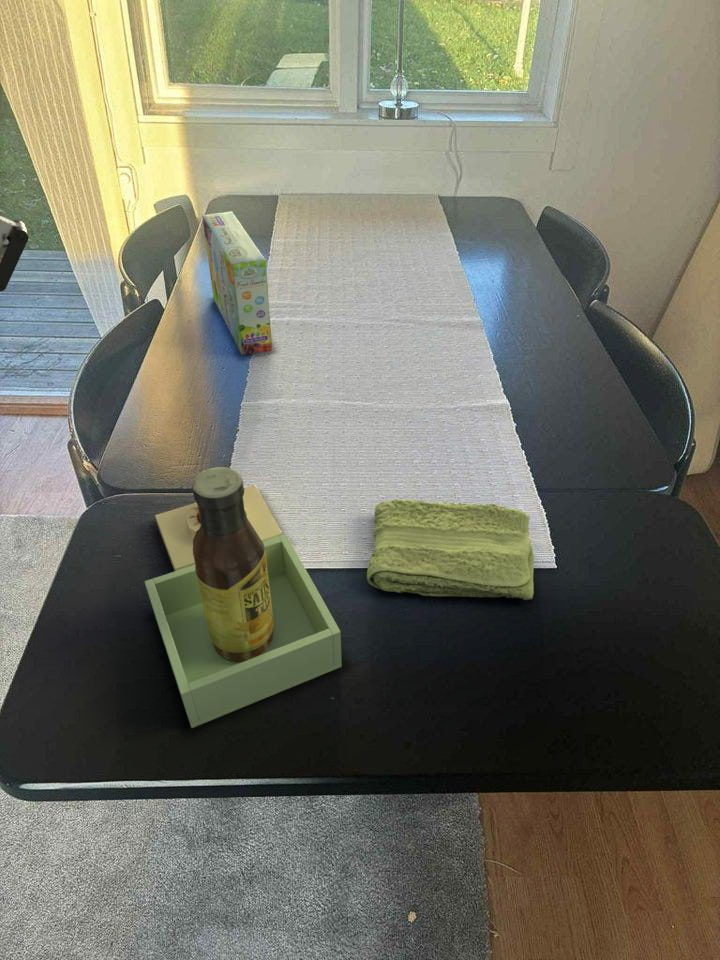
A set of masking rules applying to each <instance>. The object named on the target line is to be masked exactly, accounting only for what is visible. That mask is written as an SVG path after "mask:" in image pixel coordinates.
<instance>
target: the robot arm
mask: <svg viewBox="0 0 720 960" xmlns="http://www.w3.org/2000/svg"><path fill="white" fill-rule="evenodd" d="M28 241H29V232H28V230H27V227H26V225H25V223H24V222H23V221H22V220H19V219H15V220H11V219H10V218H9V219H8V218H7V217H4V216H2V215H0V292H4V291H6V289H7V287H8V284H9V283H10V280H11V278H12V276H13V275H14V274H13V273H14V271H15V269H16V267H17V265H18V263H19V261H20V259H21V256H22V255H23V252H24V250H25V248H26V245H27V243H28Z"/></svg>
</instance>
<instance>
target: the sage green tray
mask: <svg viewBox="0 0 720 960" xmlns="http://www.w3.org/2000/svg"><path fill="white" fill-rule="evenodd" d="M263 543H264V546H265V553H266V562H267V570H268V578H269V586H270V595H271V604H272V612H273V620H274V627H273V636H272V637H273V638H272V640H271V642H270V645H269V646H268V647H267V649H266V650H265V651H264V652H263V653H262V654H261V655H259V656H257V657H255V658H252V659H249V660H247V661H243V662H236V661H230V660H228V659H224V658H223V657H222V656H220V655H219V654H218V653H217V652H216V650H215V648H214V646H213V643H212V641H211V639H210V637H209V633H208V628H207V624H206V619H205V615H204V610H203V605H202V600H201V595H200V591H199V586H198V581H197V577H196V572H195V565H193V566H190V567H187V568H184V569H181V570H178V571H172V572H169V573H166V574H163V575H160V576H157V577H153V578H150V579H148V580H147V579H146V580H144V585H145V589H146V591H147V595H148V598H149V600H150V604H151V607H152V610H153V613H154V617H155V621H156V623H157V626H158V630H159V633H160V635H161V638H162V639H161V640H162V642H163V645H164V647H165V651H166V654H167V657H168V660H169V663H170V666H171V670H172V673H173V675H174V678H175V682H176V685H177V688H178V691H179V695H180V698H181V700H182V701H181V702H182V703H183V706H184V710H185V713H186V716H187V719H188V723H189V725H190V728H191V729H194V728H196V727H199V726H201V725H203V724H205V723H209V722H211V721H213V720H215V719H218V718H220V717H223V716H224V715H225V716H226V715H228V714H231V713H232V712H235V711H237V710H240V709H242V708H245V707H247V706H250V705H252V704H255V703H257V702H259V701H261V700H264V699H266V698H270V697H271V696H274V695H276V694H279V693H281V692H283V691H286V690H289V689H291V688H293V687H296V686H298V685H301V684H304V683H306V682H308V681H310V680H313V679H315V678H317V677H320V676H323V675H325V674H327V673H330V672H332V671H335V670H337V669H339V668H342V666H343V665H342V663H343V662H342V635H341V630H340V627H339V626H338V625H337V622H336V621H335V619H334V617H333V615H332V614H331V612H330V610H329V608H328V607H327V605H326V603H325V601H324V600H323V598H322V596H321V594H320V593H319V590H318V589H317V587H316V585H315V584H314V581H313V580H312V578H311V577H310V574H309V572H308V571H307V569H306V567H305V565H304V563H303V562H302V560H301V559H300V556H299V555H298V553H297V552H296V549H295V548H294V546H293V543H292V542H291V541H290V539H289V537H288V535H287V534H286V533H285V534H282V536H279V537H277V538H274V539H271V540H268V541H265V542H263Z"/></svg>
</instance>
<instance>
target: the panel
mask: <svg viewBox="0 0 720 960" xmlns="http://www.w3.org/2000/svg"><path fill="white" fill-rule="evenodd" d="M243 501H244V508H245V512H246V514H247V518H248V520H249V522H250V523H251V525H252V526H253V528H254V529H255V531H256V533H257V534H258V536H259V537H260V539H261V540H262V542H265V541H268V540H271V539H274V538H277V537H279V536H282V535H283V532H282V531H281V529H280V527H279V524H278V523H277V522H276V520H275V518H274V516H273V514H272V512H271V511H270V508H269V507H268V504H267V503H266V501H265V500H264V498H263V496H262V494H261V492H260V491H259V489H258V487H257V485H256V484H253V485H249V486H246V487H244V495H243ZM197 505H198V504H197V503H196V502H193V503H190V504H187V505H184V506H181V507H177V508H173V509H171V510H168V511H164V512H161V513H158V514H154V517H155V520H156V524H157V528H158V531H159V534H160V536H161V539H162V542H163V544H164V547H165V549H166V552H167V555H168V557H169V560H170V563H171V565H172V568H173V572H175V571H178V570H181V569H184V568H187V567H190V566H193V565H195V560H194V556H193V539H194V537H195V534H196V531H197V530H199V528H200V526H201V524H200V518H199V514H198V509H197Z"/></svg>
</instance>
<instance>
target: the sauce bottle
mask: <svg viewBox="0 0 720 960" xmlns="http://www.w3.org/2000/svg"><path fill="white" fill-rule="evenodd" d="M244 488H245V486H244V480H243V478H242V475H241V474H240V473H239V472H238V471H237V470H235V469H233V468H231V467H226V466H217V467H211V468H208V469H205V470H203V471H202V472H199V473H198V474H197V475H196V476H195V477H194V479H193V481H192V484H191V490H192V495H193V498H194V501H195V502H196V503H197V504H198V509H199V513H200V524H201V526H200V528H199V530H197V531H196V534H195V537H194V539H193V556H194V560H195V572H196V577H197V581H198V586H199V591H200V595H201V600H202V605H203V610H204V615H205V619H206V624H207V628H208V633H209V637H210V639H211V641H212V643H213V646H214V648H215V650H216V652H217V653H218V654H219V655H220V656H222V657H223V658H224V659H228V660H230V661H236V662H243V661H247V660H249V659H252V658H255V657H257V656H259V655H261V654H262V653H263V652H264V651H265V650H266V649H267V647H268V646H269V645H270V642H271V640H272V638H273V637H272V636H273V627H274V620H273V612H272V604H271V595H270V586H269V578H268V570H267V562H266V553H265V546H264V543H263V542H262V540H261V539H260V537H259V536H258V534H257V533H256V531H255V529H254V528H253V526H252V525H251V523H250V522H249V520H248V518H247V514H246V512H245V508H244V501H243V495H244ZM195 502H194V503H195Z"/></svg>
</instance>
